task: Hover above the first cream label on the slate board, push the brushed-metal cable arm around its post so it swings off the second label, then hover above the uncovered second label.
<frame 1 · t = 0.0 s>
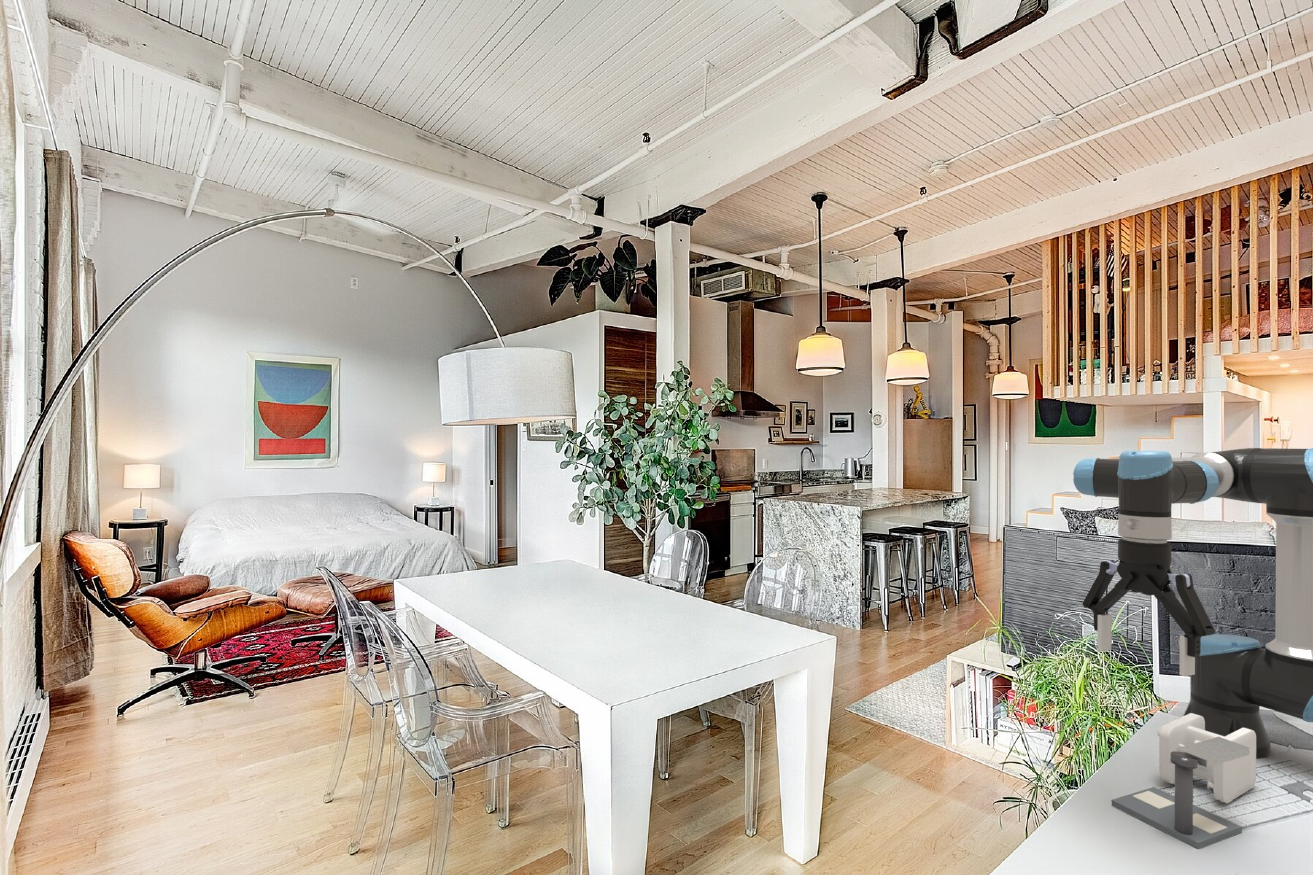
hand: (1143, 662, 117), 28 cm above the table, tool pointing down, fingers open, 13 cm apart
label board: (1174, 818, 118), on the table
cable arm: (1206, 753, 115), point 13 cm above the table, hinge at 0.0°
cable organizer: (1206, 787, 129), on the table
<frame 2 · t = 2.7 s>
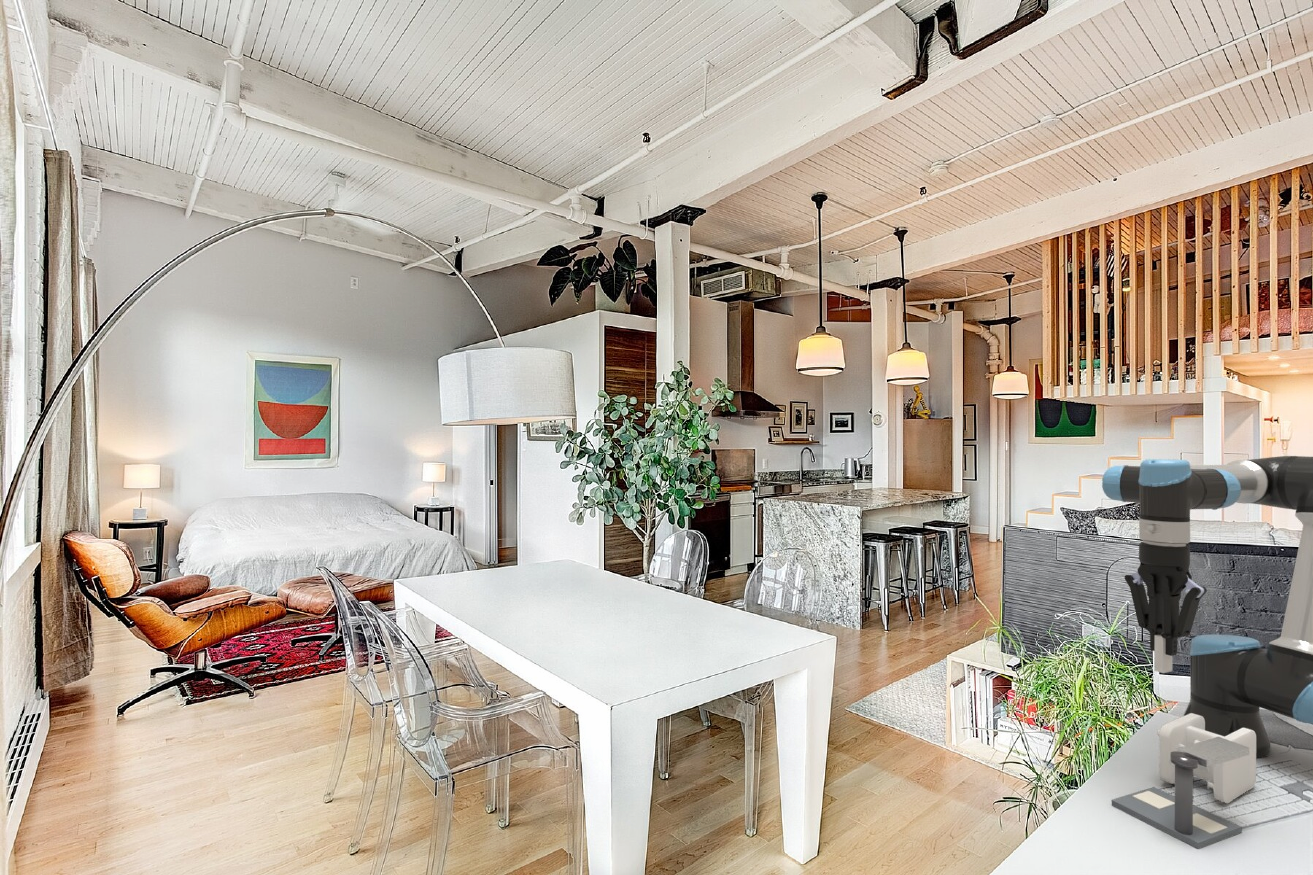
hand: (1163, 670, 124), 24 cm above the table, tool pointing down, fingers closed
nothing on the table moved.
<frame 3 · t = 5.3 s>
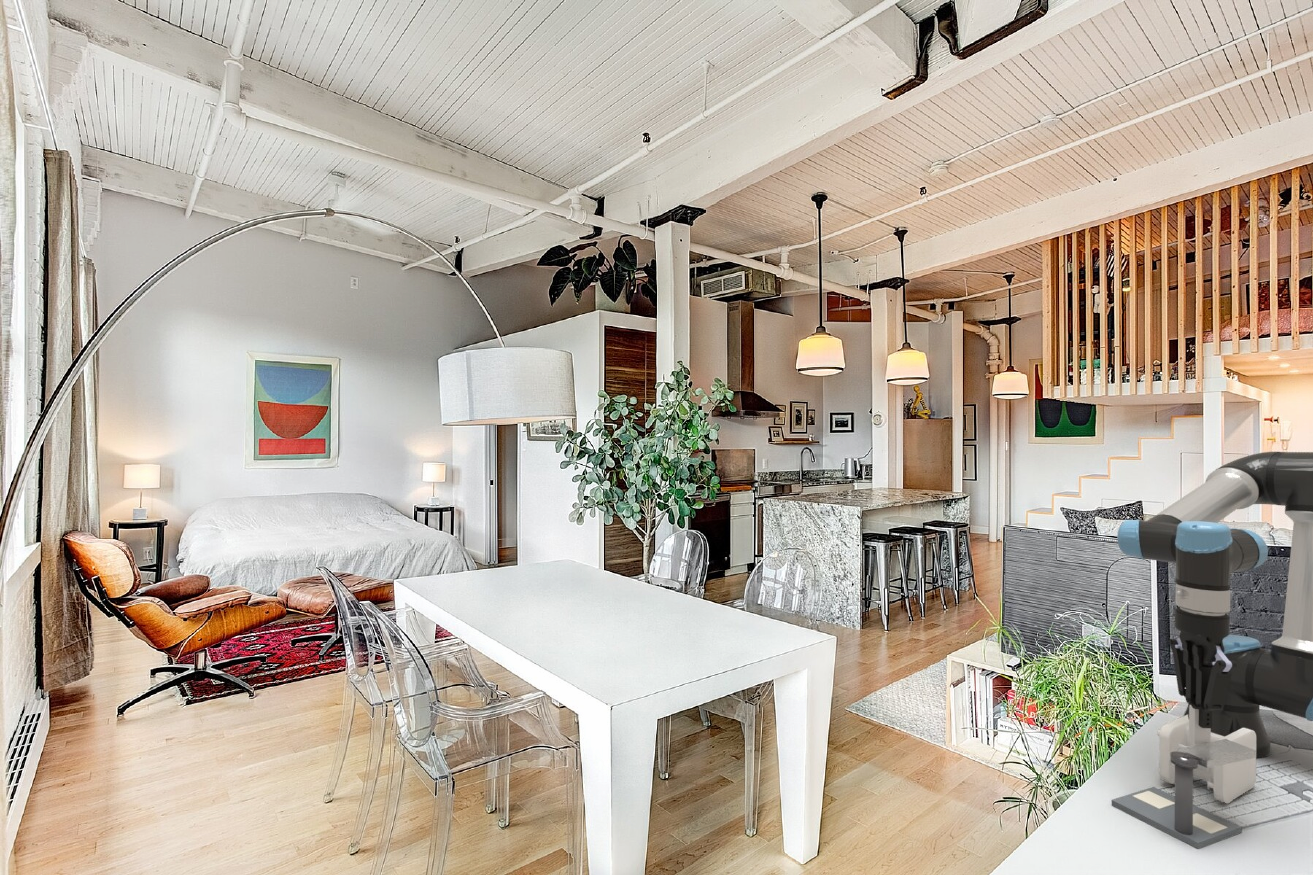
hand: (1199, 742, 119), 13 cm above the table, tool pointing down, fingers closed
cable arm: (1209, 754, 115), point 13 cm above the table, hinge at -4.3°, touching gripper
everything else where it was.
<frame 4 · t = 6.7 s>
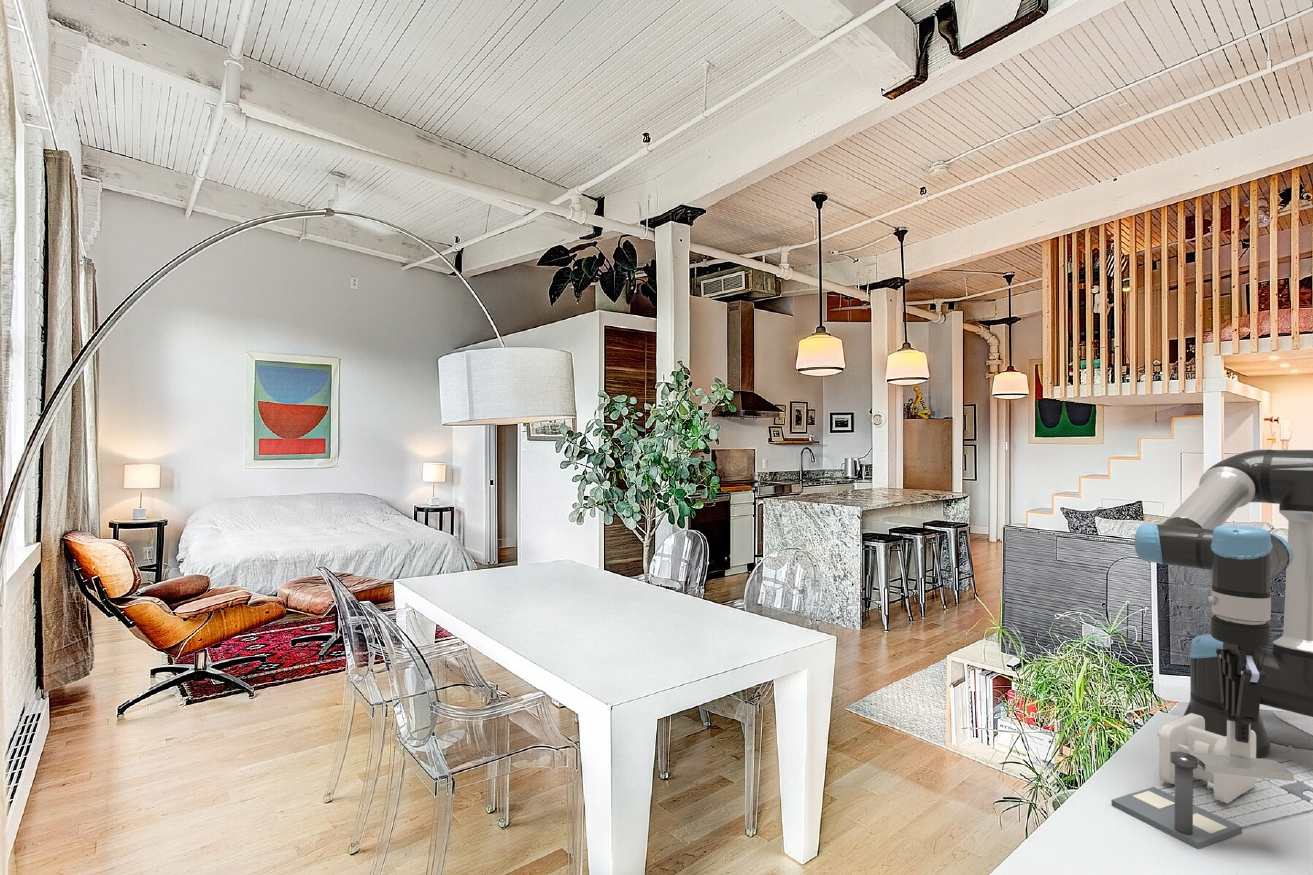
hand: (1238, 757, 114), 13 cm above the table, tool pointing down, fingers closed
cable arm: (1226, 764, 111), point 13 cm above the table, hinge at -37.0°, touching gripper
everything else where it was.
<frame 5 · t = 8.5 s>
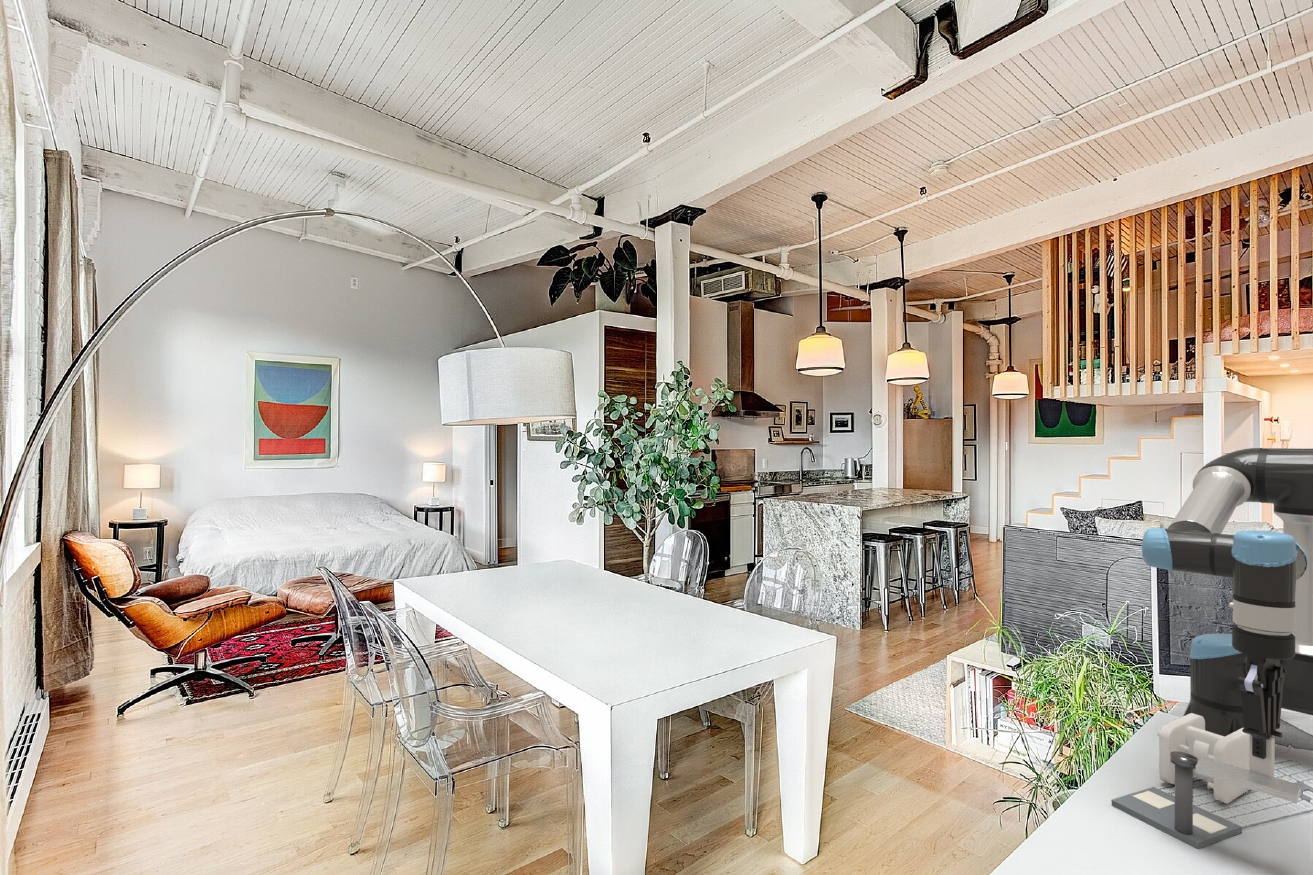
hand: (1261, 775, 108), 13 cm above the table, tool pointing down, fingers closed
cable arm: (1231, 773, 108), point 13 cm above the table, hinge at -72.2°, touching gripper
everything else where it was.
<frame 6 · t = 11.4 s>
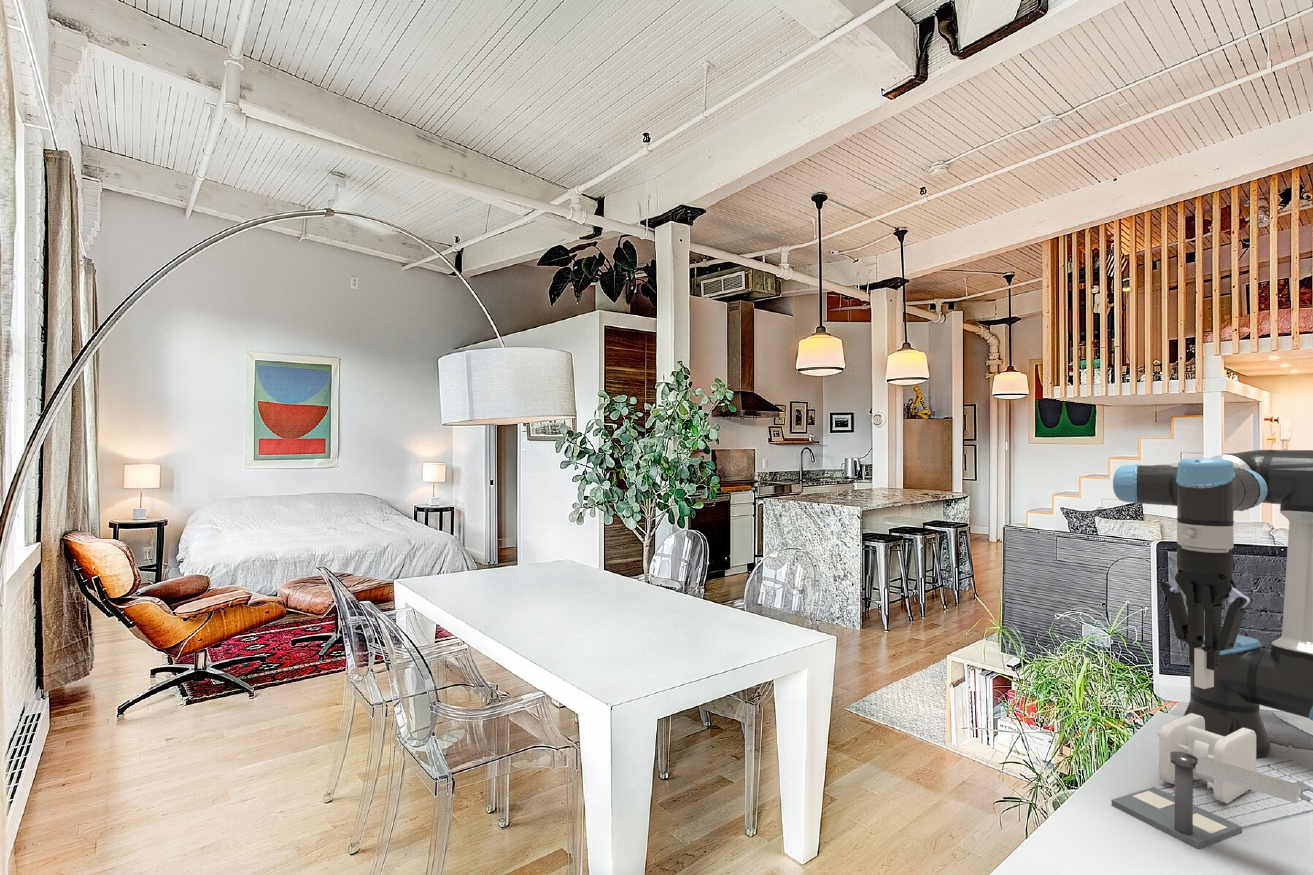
hand: (1204, 686, 115), 24 cm above the table, tool pointing down, fingers closed
cable arm: (1231, 773, 108), point 13 cm above the table, hinge at -72.2°
everything else where it was.
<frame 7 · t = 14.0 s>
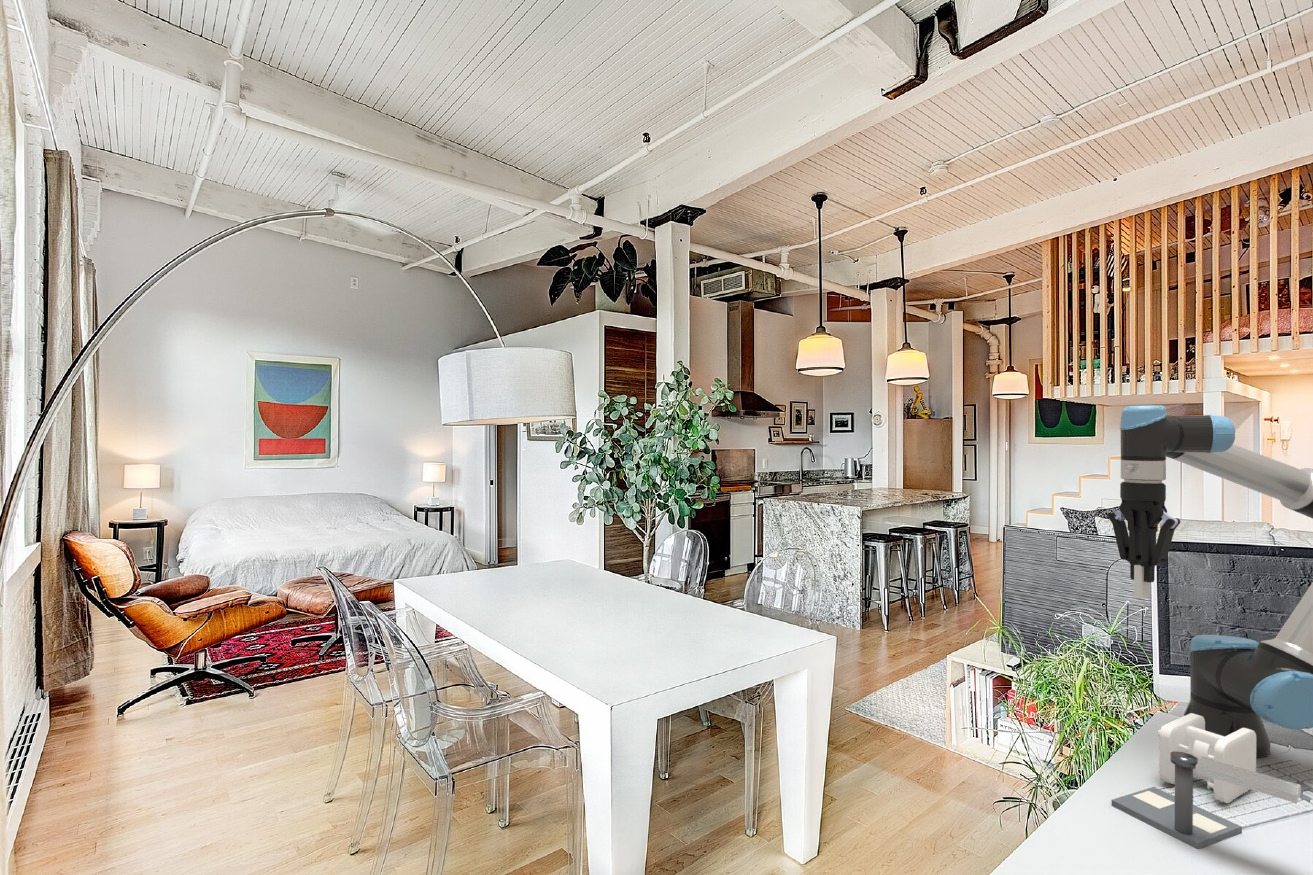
hand: (1142, 596, 137), 34 cm above the table, tool pointing down, fingers closed
nothing on the table moved.
at the end: cable arm at -72° (first picture: +0°); cable organizer moved 0.3 cm from its start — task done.
